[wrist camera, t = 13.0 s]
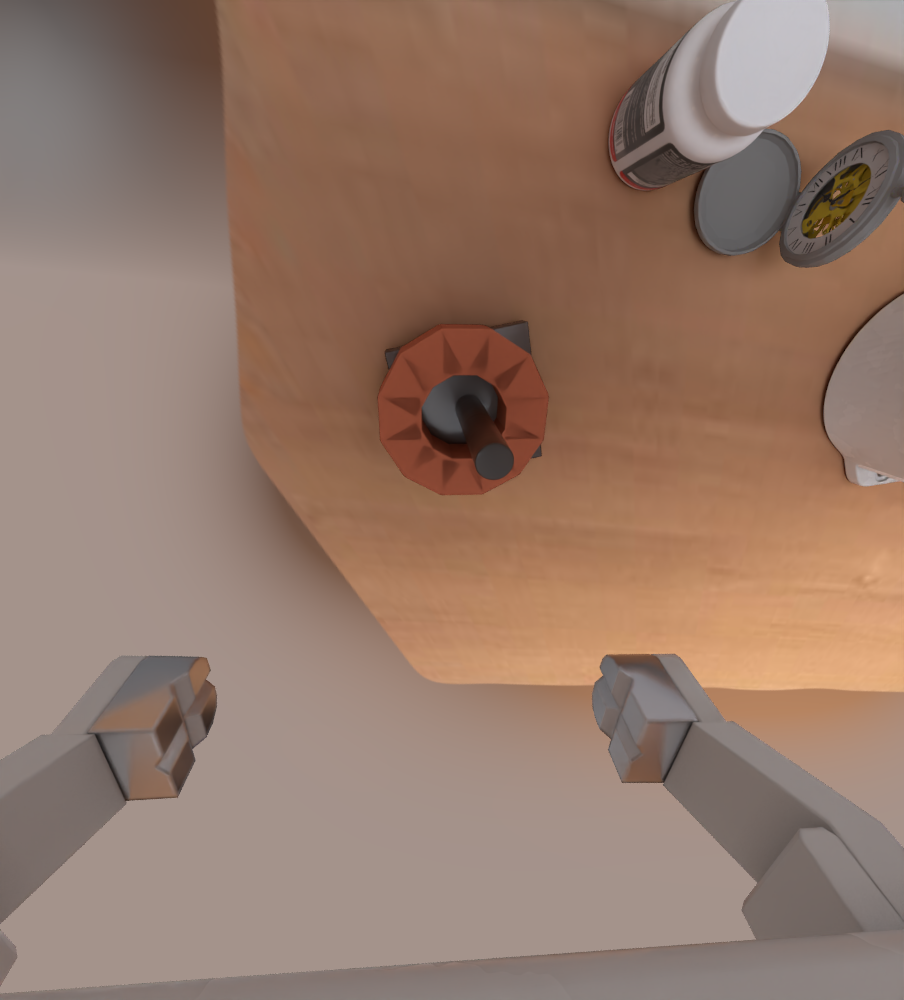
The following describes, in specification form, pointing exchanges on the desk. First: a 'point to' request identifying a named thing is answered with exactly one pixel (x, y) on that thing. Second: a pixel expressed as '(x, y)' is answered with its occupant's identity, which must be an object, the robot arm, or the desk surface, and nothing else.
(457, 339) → the ring
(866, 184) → the pocket watch
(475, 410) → the peg on square base
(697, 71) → the pill bottle
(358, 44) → the desk surface
